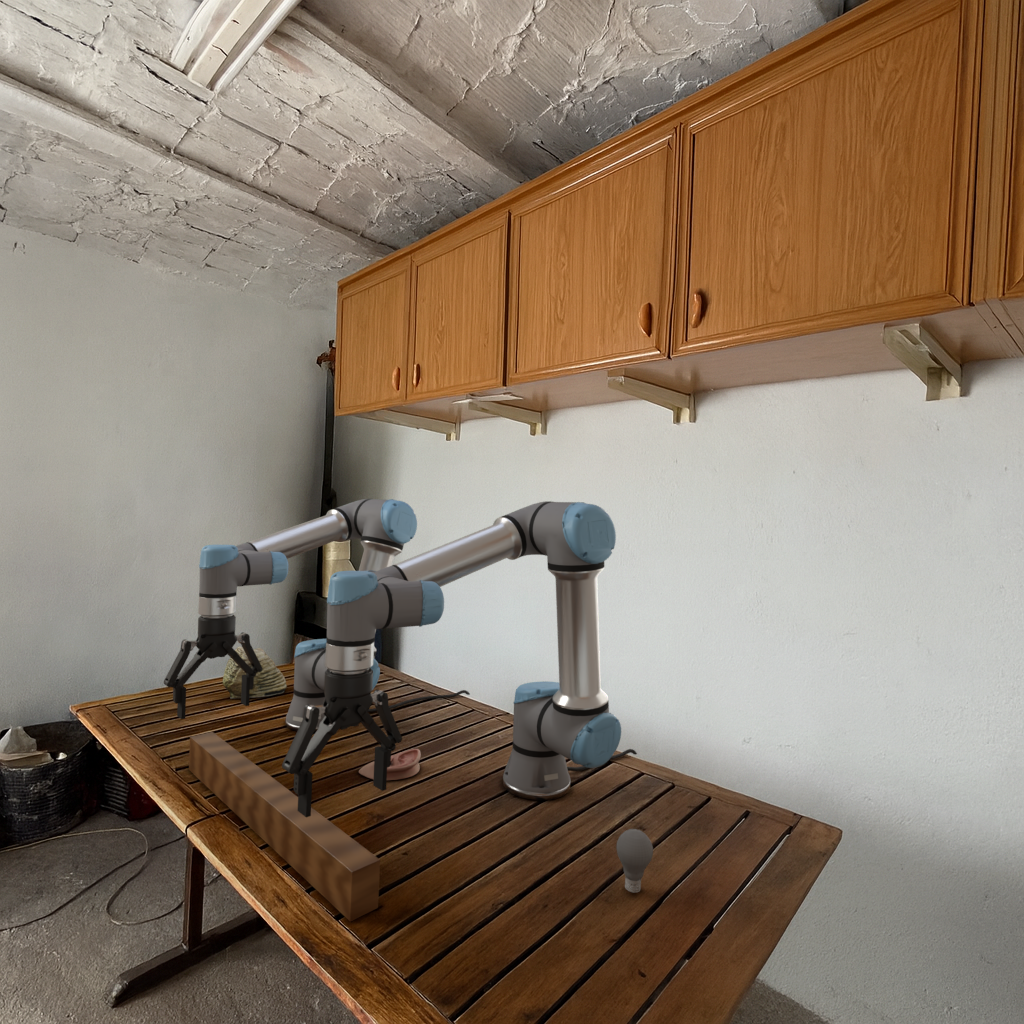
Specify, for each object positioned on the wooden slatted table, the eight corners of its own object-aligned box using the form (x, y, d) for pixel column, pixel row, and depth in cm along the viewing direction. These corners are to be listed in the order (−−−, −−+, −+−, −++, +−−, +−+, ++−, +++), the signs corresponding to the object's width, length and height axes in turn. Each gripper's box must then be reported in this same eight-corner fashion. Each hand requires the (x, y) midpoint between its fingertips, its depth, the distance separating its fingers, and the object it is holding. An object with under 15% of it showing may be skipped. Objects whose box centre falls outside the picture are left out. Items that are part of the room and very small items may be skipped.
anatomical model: (353, 759, 143) (374, 741, 154) (352, 777, 143) (373, 757, 154) (408, 767, 140) (426, 748, 152) (408, 785, 140) (425, 764, 152)
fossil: (218, 695, 195) (220, 647, 195) (278, 685, 208) (279, 640, 207) (228, 703, 189) (230, 653, 188) (289, 692, 201) (290, 645, 201)
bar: (188, 769, 144) (189, 736, 144) (211, 764, 147) (212, 731, 147) (350, 921, 95) (352, 871, 95) (378, 907, 99) (380, 859, 99)
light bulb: (610, 879, 108) (613, 822, 108) (644, 879, 109) (647, 822, 109) (619, 902, 102) (622, 840, 102) (655, 901, 103) (658, 840, 103)
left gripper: (160, 624, 128) (157, 728, 128) (279, 612, 146) (276, 703, 146) (149, 618, 133) (146, 718, 134) (265, 607, 151) (262, 695, 152)
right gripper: (285, 687, 90) (279, 836, 90) (425, 661, 108) (420, 785, 108) (262, 675, 95) (256, 815, 95) (399, 652, 113) (394, 771, 113)
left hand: (214, 710), depth 140 cm, fingers open, 13 cm apart
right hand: (343, 800), depth 102 cm, fingers open, 13 cm apart
